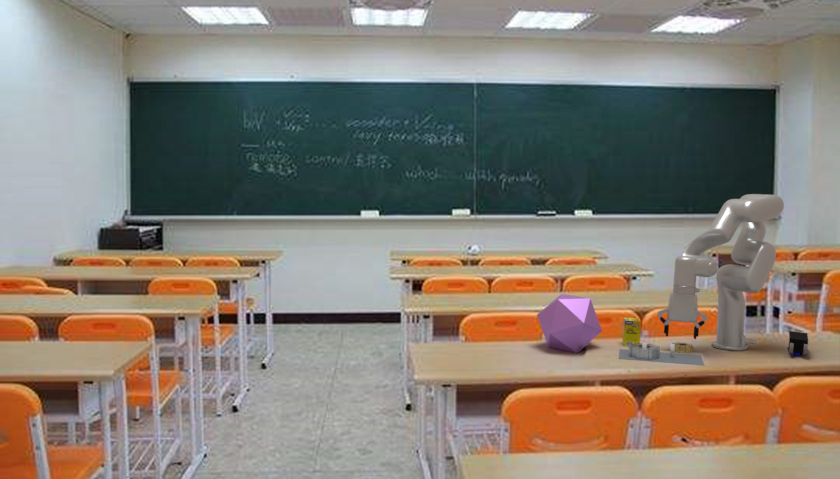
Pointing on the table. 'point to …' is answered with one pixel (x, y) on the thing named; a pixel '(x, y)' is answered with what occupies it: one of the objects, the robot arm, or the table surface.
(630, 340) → the supplement box
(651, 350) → the steel gear
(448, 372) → the table surface
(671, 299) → the robot arm
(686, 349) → the bronze gear
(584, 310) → the icosahedron
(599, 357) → the table surface
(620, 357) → the gear board
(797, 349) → the figurine character
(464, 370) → the table surface
